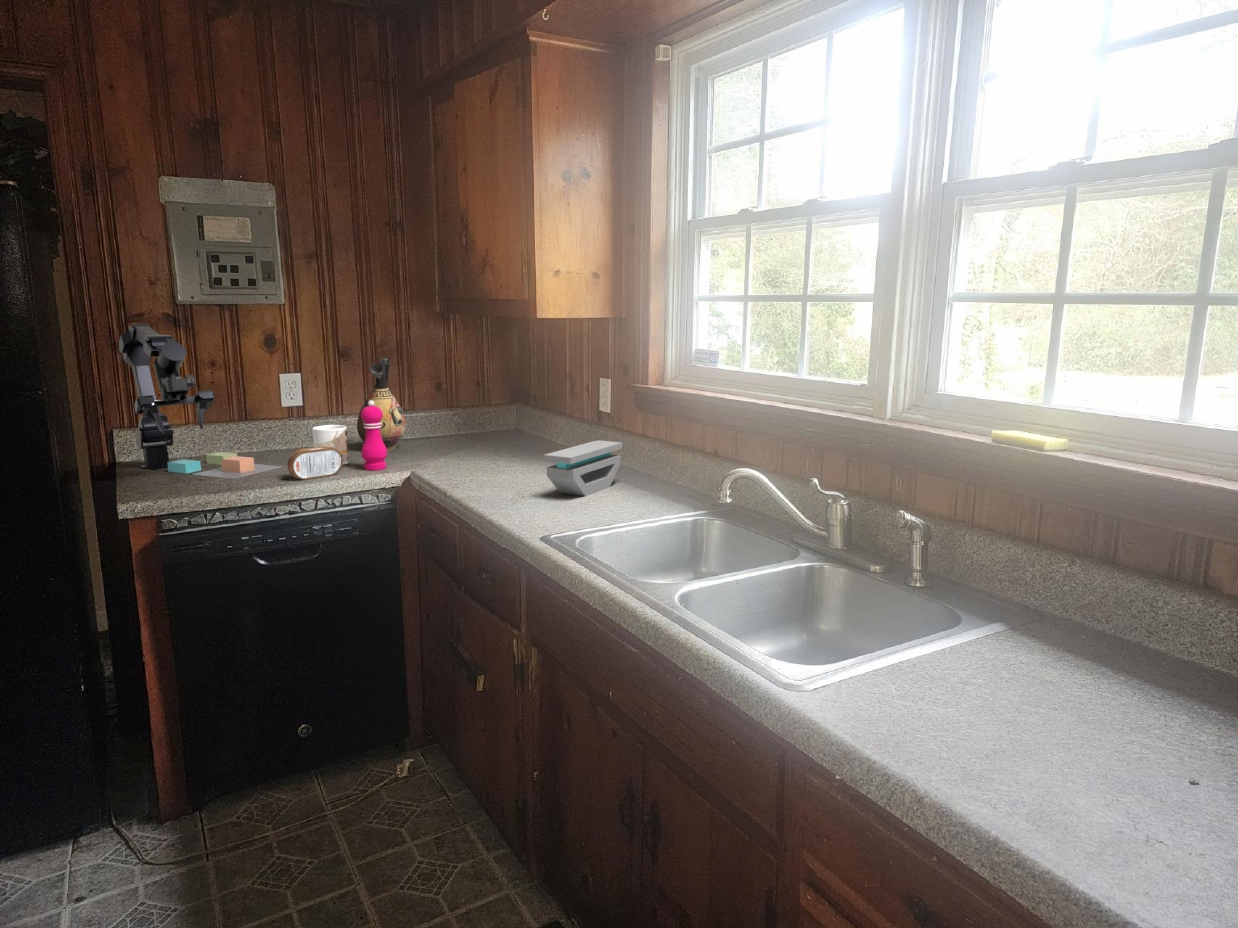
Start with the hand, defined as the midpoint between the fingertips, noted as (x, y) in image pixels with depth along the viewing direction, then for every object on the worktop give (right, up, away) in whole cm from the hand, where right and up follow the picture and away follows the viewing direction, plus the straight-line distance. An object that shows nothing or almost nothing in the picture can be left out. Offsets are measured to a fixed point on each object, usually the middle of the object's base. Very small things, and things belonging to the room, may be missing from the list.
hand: (183, 430), depth 215 cm
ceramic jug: (+38, -4, +54) cm, 66 cm away
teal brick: (-8, -12, +16) cm, 21 cm away
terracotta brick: (+7, -11, +16) cm, 21 cm away
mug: (+29, -9, +31) cm, 43 cm away
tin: (+32, -13, +9) cm, 36 cm away
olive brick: (-3, -9, +28) cm, 30 cm away
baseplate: (+7, -11, +16) cm, 21 cm away
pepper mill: (+45, -10, +21) cm, 51 cm away
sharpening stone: (+108, -16, -7) cm, 109 cm away
